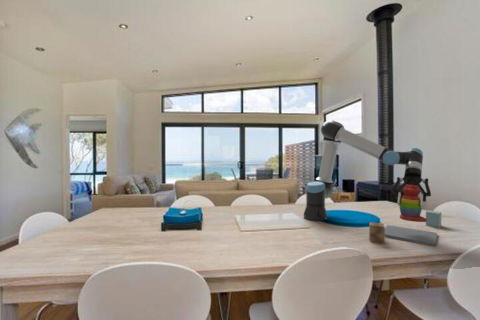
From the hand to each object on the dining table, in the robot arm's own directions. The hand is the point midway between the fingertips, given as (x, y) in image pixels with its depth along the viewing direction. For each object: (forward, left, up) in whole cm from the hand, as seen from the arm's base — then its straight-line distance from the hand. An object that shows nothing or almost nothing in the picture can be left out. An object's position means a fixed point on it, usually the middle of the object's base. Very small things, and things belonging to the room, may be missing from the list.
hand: (409, 205), depth 121 cm
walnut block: (-12, -16, -16) cm, 26 cm away
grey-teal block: (+8, +34, -16) cm, 39 cm away
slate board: (-1, +3, -16) cm, 17 cm away
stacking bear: (0, +3, -8) cm, 9 cm away
